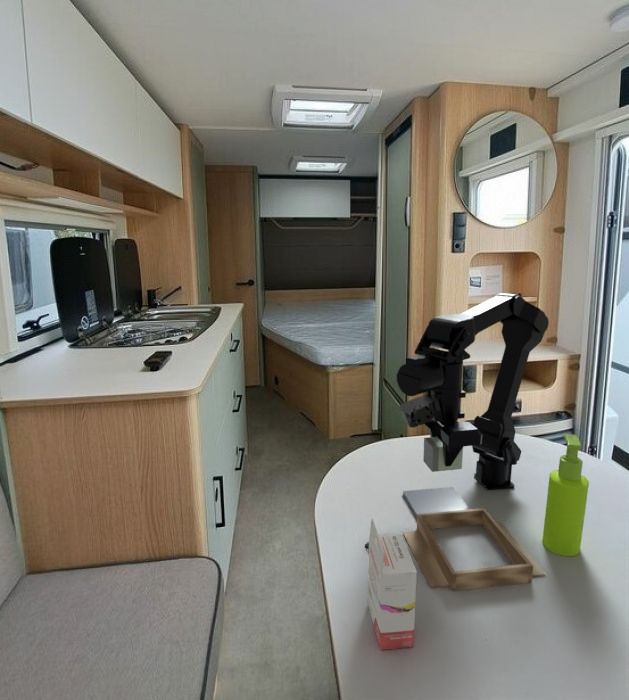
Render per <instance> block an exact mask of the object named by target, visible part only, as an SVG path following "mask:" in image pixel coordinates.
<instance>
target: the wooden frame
mask: <svg viewBox="0 0 629 700" xmlns="http://www.w3.org/2000/svg"><path fill="white" fill-rule="evenodd" d="M477 525H481V526H482V527H483V528H484V529H485V530H486V532H488V534H489V536H490V537H491V538H492V539H493V540H494V541H495V543H496V544H497V546H498V547H499V548H500V549H501V550H502V552H503V553H504V554H505V555H506V557H507V558H508V559H509V560H510V562H511V565H510V564H509V565H502V566H492V567H491V566H490V567H483V568H474V569H473V568H472V569H464V570H455V569H454V568H453V566H452V564H451V562H450V560H449V559H448V557H447V556H446V554H445V552H444V551H443V549H442V548H441V546H440V544H439V542H438V541H437V539H436V537H435V536H434V534H433V533H432V531H431V530H433V529H445V528H456V527H466V526H477ZM416 529H417V530H409V531H402V534H403V536H404V538H405V540H406V541H407V544H408V546H409V548H410V550H411V552H412V555H413V556H414V558H415V560H416V562H417V563H418V566H419V568H420V570H421V571H422V574H423V576H424V578H425V579H426V582H427V584H428V585H429V588H432V589H433V588H441V587H442V588H443V587H449V588H450V591H451V592H455V591H464V590H473V589H481V588H492V587H498V586H499V587H500V586H509V585H518V584H526V583H532V581H533V578H534V577H543V576H546V573H545V571H544V570H543V569H542V568H541V567H540V566H539V564H538V563H537V562H536V561H535V560H534V558H533V557H531V556H530V554H529V553H528V551H526V550H525V548H524V547H523V546H522V545H521V544H520V543H519V542H518V540H517V539H516V538H515V537H514V536H513V534H511V532H510V531H509V530H508V529H507V528H506V527H505V526H504V524H503V523H502V522H496V520H495V519H494V518H493V517H492V515H491V514H490V513H489V511H487V510H486V508H485V507H483V508H481V507H480V508H470V509H469V510H458V511H447V512H436V513H425V514H417V518H416Z"/></svg>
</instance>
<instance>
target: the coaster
mask: <svg viewBox="0 0 629 700" xmlns="http://www.w3.org/2000/svg"><path fill="white" fill-rule="evenodd" d="M402 495H403V497H404V499H405V500H406V502H407V503H408V505H409V507H410V509H411V511H412V512H413V514H414V516H415V518H416V519H417V514H425V513H436V512H447V511H458V510H469V509H471V508H470V507H469V506H468V504H467V503H466V502H465V501H464V499H463V498H462V497H461V496H460V495H459V492H457V491H456V489H455V488H454V487H453V486H448V487H437V488H435V487H434V488H425V489H424V488H423V489H412V490H403V491H402Z"/></svg>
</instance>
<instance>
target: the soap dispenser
mask: <svg viewBox="0 0 629 700" xmlns="http://www.w3.org/2000/svg"><path fill="white" fill-rule="evenodd" d="M562 435H563V438H564V440H565V442H566V444H567V445H566V452H565V453H566V454H564V455H560V457H559V464H558V470H553V471H552V472H550V473H549V478H548V487H547V495H546V496H547V497H546V506H545V513H544V514H545V515H544V523H543V531H542V544H543V546H544V547H545V548H546V549H547V550H548V551H550V552H551V553H553V554H555V555H557V556H558V555H559V556H562V557H576V556H578V555H579V553H580V551H581V545H582V537H583V530H584V523H585V522H584V521H585V515H586V507H587V500H588V491H589V486H590V485H589V484H590V481H589V480H588V478H586V477H585V476H584V475H582V470H583V463H584V462H583V460H582V459H581V458H579V457H578V456H579V450H582V443H581V441H580V439H579V437H578V436H577V434H571V433H562Z"/></svg>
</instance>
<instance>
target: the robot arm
mask: <svg viewBox="0 0 629 700" xmlns="http://www.w3.org/2000/svg"><path fill="white" fill-rule="evenodd" d="M498 323H501V324H502V329H501V335H502V339H503V341H504V351H503V354H502V358H501V361H500V365H499V368H498V372H497V375H496V379H495V382H494V387H493V390H492V393H491V397H490V400H489V404H488V408H487V409H486V411H485V412H484V413H483V414H481V415H480V416H479V415H476V417H475V418H474V421H473V424H472V423H471V422H470V421H464V422H463V421H462V422H459V419H460V420H461V419H465V414H466V413H465V412H463V411H462V409H461V406H462V399H464V398H466V396H467V395H466V394H467V392H466V391H464V390H463V389H462V388H463V387H462V386H463V370H464V361H465V360H468V359H470V358H471V354H469V352H468V351H466V349H468V347H470V346H471V345H472V344H474V342H475V341H476V335H478V334H479V333H481V332H483V331H485V330H487V329H488V328H490V327H492V326H494V325H496V324H498ZM549 323H550V321H549V318H548V316H547V314H545V312H544V311H543V310H541V308H539V307H537V306H535V305H533V304H532V303H531V302H530V303H529V302H528V301H526V300H525V298H523V297H522V296H520V295H519V294H518V293H517V294H516V293H515V294H514V293H505V292H504V293H503V292H501V293H500V292H499V293H496V294H495V295H493V297H491V298H490V299H487V300H486V301H483V302H482V303H480V304H478V305H475V306H473V307H471V308H469V309H468V310H465V311H464V312H461V313H460V312H459V313H450V314H449V313H448V314H443V315H439V316H435V317H433V318H432V319H430V320H429V322H428V325H427V326H426V328H425V330H424V332H423V335H422V337H421V338H420V340H419V342H418V344H417V346H416V348H415V350H414V354H415V356H407V357H406V358H405V363H404V364H402V365H401V366H400V367H399V368H398V370H397V371H398V372H397V373H396V383H397V385H398V388H399V390H400V391H401V393H403V394H404V395H406V396H408V397H414V396H417V397H415V398H411V399H410V400H407V401H406V402H403V403H401V404H400V405H399V407H398V408H399V411H400V413H401V415H402V418H403V421H404V422H405V423H406V424H407V426H408V427H409V428H411V429H412V428H416V427H418V426H422V425H425V426H426V427H427V428H428V432H429V433H428V434H429V435H430V437H437V438H438V439H439V440H440V441H441V442H442V443H443V454H444V462H445V466H451V465H452V463H453V462H454V460H455V459H456V457H457V456H458V454H459V453H460V451H461V450H462V448H463V449H464V447H472V452H473V453H476V454H478V460H477V461H476V465H475V466H476V467H475V472H474V474H473V476H474V477H475V479H477V480H478V482H479V483H480V484H481V485H482V486H483V487H484V488H485V489H486V490H499V489H501V490H502V489H510V488H511V489H512V488H515V487H516V486H515V484H514V483H513V481H511V480H512V472H513V471H512V469H513V465H515V466H516V465H517V464H518V461H520V459H521V454H522V449H521V448H520V447H519V446H518V444H517V443H516V442H515V435H516V429H515V426H514V425H515V424H514V421H513V418H512V417H513V411H514V409H515V406H516V402H517V398H518V395H519V391H520V388H521V384H522V380H523V377H524V374H525V371H526V367H527V363H528V359H529V356H530V353H531V352H532V351H533V350H534V349H535V348H536V347H537V346H538V345H539V344H541V343H542V341H543V338H544V336H545V333H546V332H547V330H548V329H549ZM421 394H424V395H421ZM418 395H421V396H418Z"/></svg>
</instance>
